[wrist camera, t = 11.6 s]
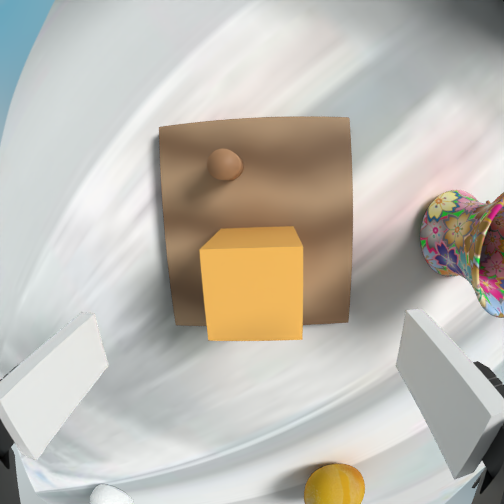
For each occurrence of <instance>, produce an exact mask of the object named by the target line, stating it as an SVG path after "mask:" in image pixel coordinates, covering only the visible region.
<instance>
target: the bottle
mask: <svg viewBox="0 0 504 504" xmlns="http://www.w3.org/2000/svg"><path fill="white" fill-rule="evenodd" d="M90 504H134V502H133V500H132V498H131V497H130V496H129V495H128V494H126V493H125V492H123V491H122V490H120V489H118V488H116V487H114V486H111V485H107V484H100V485H98V486H97V487H96V488H95V489H94V490H93V492H92V494H91V496H90Z"/></svg>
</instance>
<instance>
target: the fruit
mask: <svg viewBox="0 0 504 504" xmlns="http://www.w3.org/2000/svg"><path fill="white" fill-rule="evenodd" d="M364 492H365V484H364V480H363V477H362V475H361V473H360V472H359V471H358V470H357V469H356V468H354V467H352V466H350V465H347V464H331V465H327V466H324V467H321V468H319V469H318V470H316V471H315V472H314V473H312V475H311V476H310V477H309V479H308V481H307V483H306V486H305V490H304V500H305V504H361V502H362V500H363V497H364Z"/></svg>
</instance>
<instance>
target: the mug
mask: <svg viewBox="0 0 504 504" xmlns="http://www.w3.org/2000/svg"><path fill="white" fill-rule="evenodd" d="M420 242H421V248H422V252H423V255H424V257H425V259H426V261H427V263H428V264H429V266H430V267H431V268H432V269H433V270H434V271H436V272H437V273H439V274H441V275H444V276H458V275H460V276H462V277H464V278H465V279H467V280H468V281H469V282H470V284H471V285H472V287H473V288H474V290H475V293H476V296H477V298H478V300H479V302H480V304H481V306H482V307H483V308H484V310H485V311H486V312H488V313H489V314H491V315H492V316H495V317H500V318H504V192H503V193H502V194H501V195H500V196H499V197H498V198H497V199H496V200H495V201H494V202H493V203H490V202H489V201H486V204H483V203H480V202H478V201H477V199H476V198H475V197H473V196H472V195H471V194H469V193H467V192H465V191H462V190H451V191H447V192H445V193H443V194H441V195H440V196H438V197H437V198H436V199H435V200H434V201H433V202H432V203H431V204H430V206H429V207H428V209H427V211H426V213H425V215H424V218H423V221H422V225H421V232H420Z"/></svg>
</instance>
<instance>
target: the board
mask: <svg viewBox="0 0 504 504" xmlns="http://www.w3.org/2000/svg"><path fill="white" fill-rule="evenodd" d="M159 145H160V170H161V188H162V204H163V217H164V229H165V240H166V251H167V260H168V269H169V278H170V286H171V294H172V302H173V309H174V316H175V323H176V325H182V326H207V324H206V314H205V305H204V295H203V284H202V273H201V262H200V250H199V249H201V248H202V247H203V246H204V245H205V244H206V243H207V242H208V241H209V240H210V239H211V238H212V237H213V236H214V235H215V234H216V233H217V232H218V231H219V230H220V229H226V228H253V227H285V226H294V228H295V230H296V233H297V235H298V237H299V239H300V241H301V243H302V245H303V325H310V324H331V323H347V322H348V320H349V307H350V291H351V272H352V240H353V186H352V155H351V136H350V121H349V118H347V117H262V118H242V119H228V120H216V121H205V122H195V123H186V124H178V125H171V126H163V127H159Z"/></svg>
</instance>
